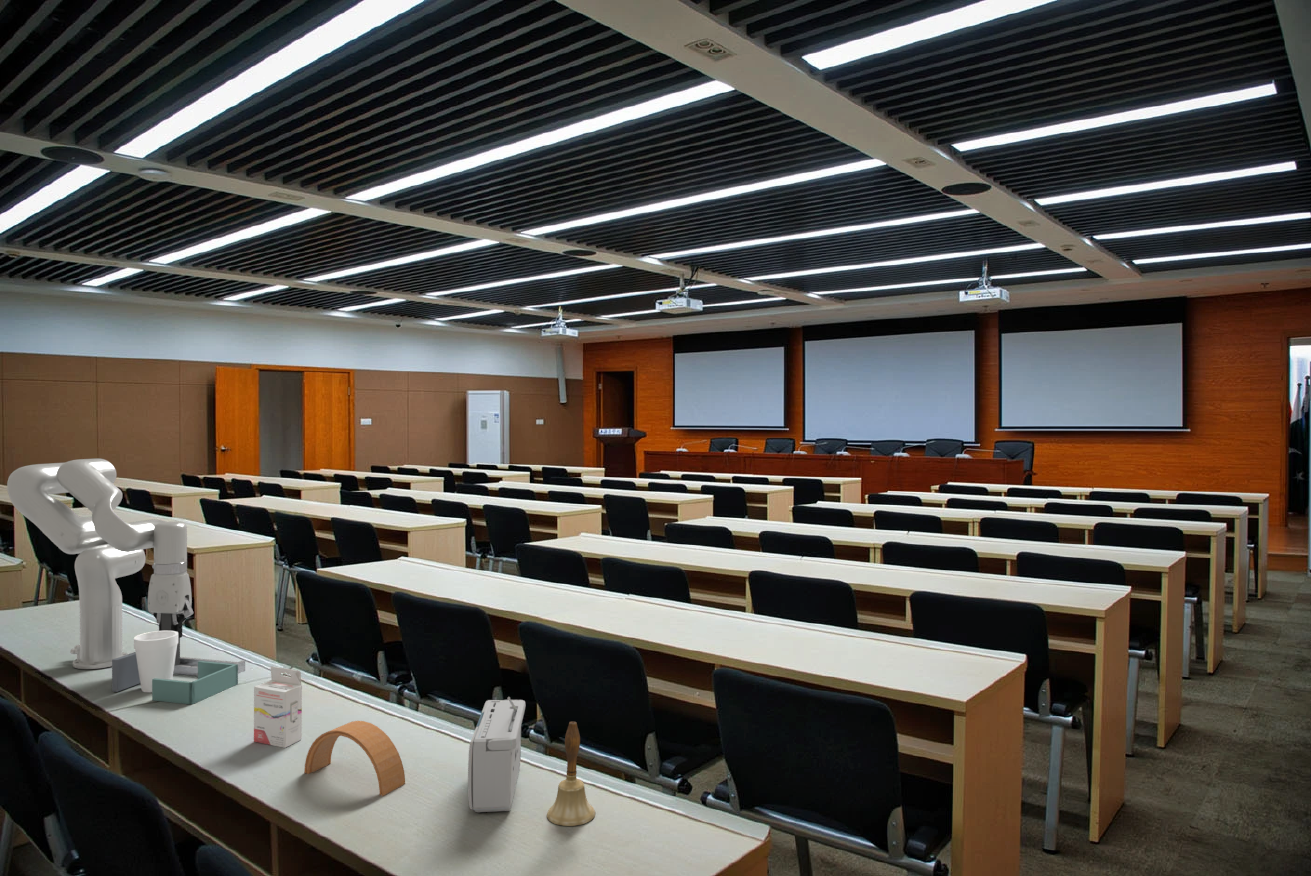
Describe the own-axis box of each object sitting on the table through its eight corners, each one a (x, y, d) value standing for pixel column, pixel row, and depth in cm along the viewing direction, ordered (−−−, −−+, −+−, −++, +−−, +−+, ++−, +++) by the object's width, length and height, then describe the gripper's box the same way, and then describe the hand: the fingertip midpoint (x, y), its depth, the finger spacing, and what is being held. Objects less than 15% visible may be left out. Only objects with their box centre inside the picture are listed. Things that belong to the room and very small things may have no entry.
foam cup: (187, 682, 207) (186, 631, 207) (161, 695, 198) (161, 641, 198) (151, 681, 208) (151, 629, 208) (124, 693, 199) (124, 639, 199)
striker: (100, 690, 200) (100, 620, 200) (170, 664, 221) (170, 601, 220) (117, 691, 199) (117, 622, 198) (185, 665, 220) (185, 602, 219)
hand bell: (547, 804, 146) (548, 714, 145) (595, 803, 147) (596, 714, 146) (545, 827, 138) (546, 732, 137) (595, 826, 138) (596, 732, 138)
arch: (381, 797, 148) (382, 742, 147) (304, 773, 157) (304, 721, 157) (405, 784, 153) (405, 731, 153) (328, 762, 162) (328, 712, 162)
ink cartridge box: (252, 742, 171) (252, 672, 170) (270, 734, 175) (270, 665, 175) (285, 748, 168) (285, 677, 168) (303, 739, 173) (303, 670, 172)
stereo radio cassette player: (483, 765, 162) (484, 663, 161) (525, 764, 162) (526, 663, 162) (466, 817, 141) (467, 700, 140) (515, 816, 141) (516, 700, 141)
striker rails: (134, 669, 217) (134, 660, 217) (155, 661, 224) (155, 652, 224) (225, 678, 211) (225, 668, 211) (245, 670, 218) (245, 660, 218)
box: (152, 700, 194) (152, 679, 194) (200, 680, 209) (200, 660, 209) (192, 704, 192) (192, 683, 192) (237, 684, 207) (237, 664, 207)
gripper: (132, 569, 216) (132, 639, 217) (186, 573, 212) (186, 644, 213) (155, 564, 223) (156, 632, 224) (207, 568, 220) (207, 636, 220)
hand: (170, 637), depth 218 cm, fingers closed on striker, 3 cm apart
